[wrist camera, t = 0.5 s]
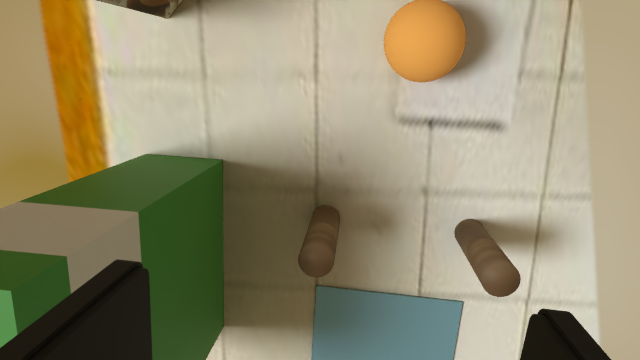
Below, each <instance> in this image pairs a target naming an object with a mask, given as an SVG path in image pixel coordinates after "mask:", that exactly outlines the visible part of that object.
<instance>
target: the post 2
mask: <svg viewBox="0 0 640 360" xmlns="http://www.w3.org/2000/svg"><path fill="white" fill-rule="evenodd" d="M455 238H456V240H457V242H458V243H459V245H460V247H461V249H462V250H463V252H464V254H465V256H466V257H467V259H468V261H469V263H470V265H471V266H472V268H473V270H474V272H475V273H476V275H477V277H478V279H479V280H480V282H481V284H482V286H483V287H484V289H485V290H486V291H487V292H488V293H489V294H491V295H493V296H497V297H504V296H508V295H510V294H512V293H513V292H515V291H516V289H517V288H518V287H519V284H520V274H519V272H518V270H517V269H516V268H515V266H514V265H513V264H512V263H511V261H510V260H509V259H508V258H507V256H506V255H505V254H504V252H503V251H502V250H501V249H500V247H499V246H498V245H497V244H496V242H495V241H494V240H493V238H492V237H491V236H490V235H489V233H488V232H487V231H486V230H485V228H484V227H483V226H482V225H481V223H480V222H478V221H476V220H473V219H467V220H463V221H461V222H460V223H459V224H458V225H457V226H456V228H455Z"/></svg>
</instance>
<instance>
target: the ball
mask: <svg viewBox="0 0 640 360" xmlns="http://www.w3.org/2000/svg"><path fill="white" fill-rule="evenodd" d="M465 43H466V31H465V26H464V23H463V20H462V18H461V16H460V15H459V13H458V12H457V11H456V10H455V9H454V8H453V7H452V6H451V5H449V4H448V3H446V2H444V1H441V0H414V1H412V2H410V3H408V4H406V5H404V6H403V7H402V8H401V9H399V10H398V11H397V12H396V13H395V14H394V16H393V17H392V18H391V20H390V22H389V24H388V26H387V28H386V32H385V36H384V50H385V55H386V58H387V60H388V62H389V64H390V66H391V67H392V68H393V70H394V71H395V72H396V73H398V74H399V75H400V76H402V77H403V78H405V79H408V80H411V81H414V82H429V81H433V80H436V79H439V78H441V77H443V76H444V75H446V74H447V73H449V72H450V71H451V70H452V69H453V68H454V67H455V66H456V64H457V63H458V61H459V60H460V58H461V56H462V54H463V51H464V48H465Z"/></svg>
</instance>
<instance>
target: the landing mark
mask: <svg viewBox="0 0 640 360" xmlns="http://www.w3.org/2000/svg"><path fill="white" fill-rule="evenodd" d="M462 305H463V302H462V301H454V300H445V299H436V298H427V297H417V296H408V295H399V294H390V293H381V292H372V291H362V290H353V289H344V288H335V287H326V286H317V288H316V302H315V316H314V330H313V345H312V359H311V360H453V357H454V351H455V345H456V340H457V334H458V328H459V322H460V316H461V311H462Z"/></svg>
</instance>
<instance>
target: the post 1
mask: <svg viewBox="0 0 640 360" xmlns="http://www.w3.org/2000/svg"><path fill="white" fill-rule="evenodd" d="M339 225H340V215H339V213H338V211H337V210H336V209H335V208H333V207H331V206H321V207H319V208H317V209H316V210H315V212H314V214H313V216H312V219H311V222H310V225H309V228H308V231H307V234H306V237H305V239H304V242H303V245H302V248H301V251H300V254H299V258H298V262H299V266H300V268H301V269H302V271H303V272H304V273H306V274H307V275H309V276H312V277H322V276H324V275H326V274H328V273H329V272H330V271H331V269H332V268H333V265H334V258H335V251H336V245H337V238H338V231H339Z"/></svg>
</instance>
